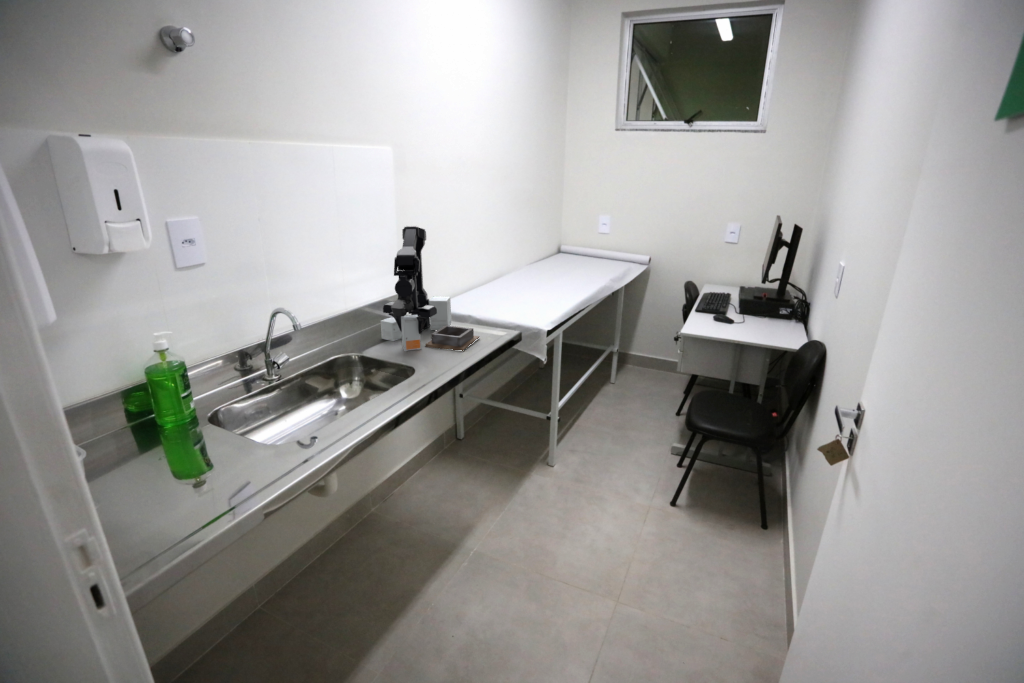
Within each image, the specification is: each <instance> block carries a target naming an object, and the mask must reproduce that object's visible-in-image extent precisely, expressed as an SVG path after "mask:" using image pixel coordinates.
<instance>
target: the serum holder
mask: <svg viewBox="0 0 1024 683" xmlns="http://www.w3.org/2000/svg"><path fill="white" fill-rule="evenodd" d="M474 331H475V330H474V328H473V327H463V326H456V325H455V326H454V325H452V326H448V325H445V326H444V327H442V328H440V329H439V330H437V331H433V332H432V333H431V336H430V338H431V340H430V341H428V342H426V343H425V346H424V347H425V348H432V349H433V348H434V349H439V348H440V350H447V349H453V350H452V351H455V350H462V351H463V350H464V349H466V348H467V347H468V346H469V345H470V344H472V343H473V342H474V341H475V340H476V339H478V338H479V337H480V336H479V335H474ZM472 345H473V344H472ZM468 348H469V347H468ZM468 348H467V349H468ZM467 349H466V350H467ZM462 351H461V352H462ZM464 351H465V350H464ZM464 351H463V352H464Z"/></svg>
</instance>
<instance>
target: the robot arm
mask: <svg viewBox="0 0 1024 683" xmlns="http://www.w3.org/2000/svg"><path fill="white" fill-rule="evenodd" d="M401 230H402V234H401V236H402V240H403V241H402V247H401V249H399V250H398V251H397V253H396V256H395V257H394V266H393V277H394V276H395V277H398V280H397V282H396V283H395V285H394V290H395V291H394V292H395V294H397V300H395V301H390V302H387V303H385V304H383V306H382V313H385V314H388V316H391V317H393V318H394V319H395V320H396V322H397V324H398V326H399V329H400V331H401V332H402V328H401V316H407V313H408V315H418V317H416V318H417V320H418V330H419V334H422V333H423V329H424V330H426V329H428V328H429V327H431V326H430V317H432V316H433V315H435V314H437V309H436V307H435V306H429V300H430V298H429V296H428V293H427V291H426V290H425V288H424V280H423V277H424V276H423V260H422V259H423V258H422V250H423V248H424V247H425V244H426V241H427V231H426V229H425V228H422V227H419V226H417V225H406V226H404V227H403V229H401ZM428 326H429V327H428ZM425 328H426V329H425Z"/></svg>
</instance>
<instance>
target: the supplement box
mask: <svg viewBox="0 0 1024 683" xmlns="http://www.w3.org/2000/svg"><path fill="white" fill-rule="evenodd" d="M451 303H452V302H451V296H432V297H431V298H429V306H435V307H436V309H437V314H435V315H433V316H432V317H430V326H429V327H430V331H431V330H439V329H440V328H442V327H444V326H445V325H448V326H450V325H451V323H452V309H451V308H452V304H451Z"/></svg>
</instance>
